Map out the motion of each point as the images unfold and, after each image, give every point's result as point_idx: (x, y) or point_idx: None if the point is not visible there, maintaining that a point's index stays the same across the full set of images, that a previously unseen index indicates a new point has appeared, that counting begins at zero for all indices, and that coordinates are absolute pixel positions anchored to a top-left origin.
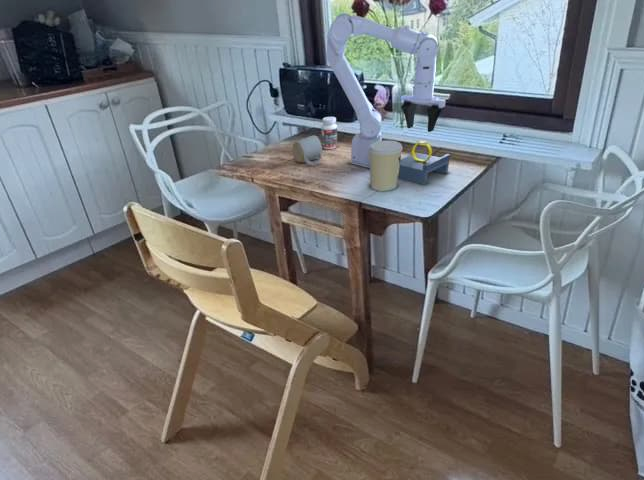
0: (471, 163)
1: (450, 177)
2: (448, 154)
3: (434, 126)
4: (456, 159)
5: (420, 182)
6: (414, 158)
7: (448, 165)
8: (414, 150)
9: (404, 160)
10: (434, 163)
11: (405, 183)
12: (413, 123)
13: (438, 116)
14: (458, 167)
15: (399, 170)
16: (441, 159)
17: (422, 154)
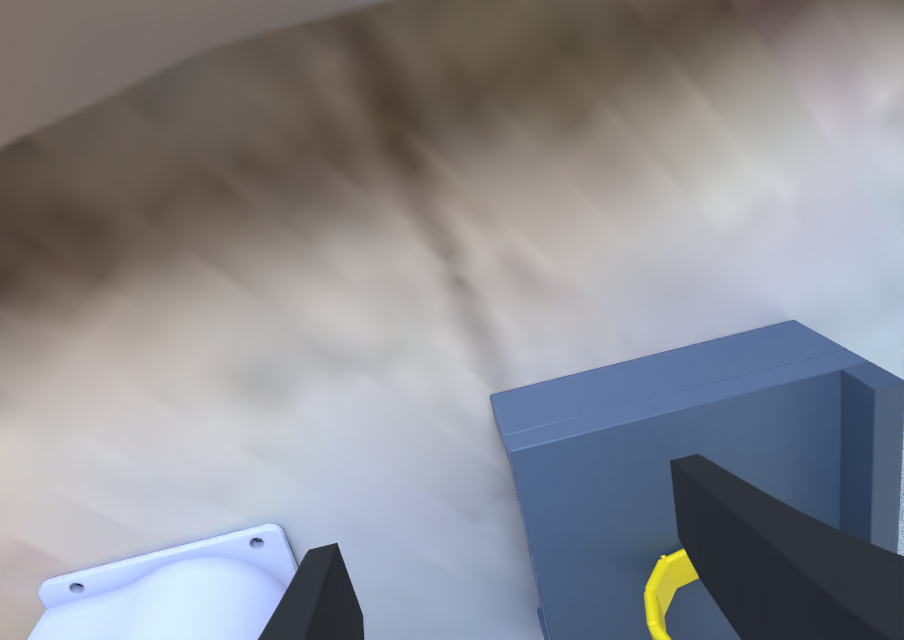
0: (829, 5)
1: None
2: (892, 391)
3: (737, 481)
4: (657, 25)
5: None
6: (670, 601)
7: (832, 343)
8: (662, 629)
9: (591, 627)
10: None
11: None
12: (330, 567)
13: (891, 560)
14: (794, 174)
15: None
16: (895, 495)
17: (597, 447)
